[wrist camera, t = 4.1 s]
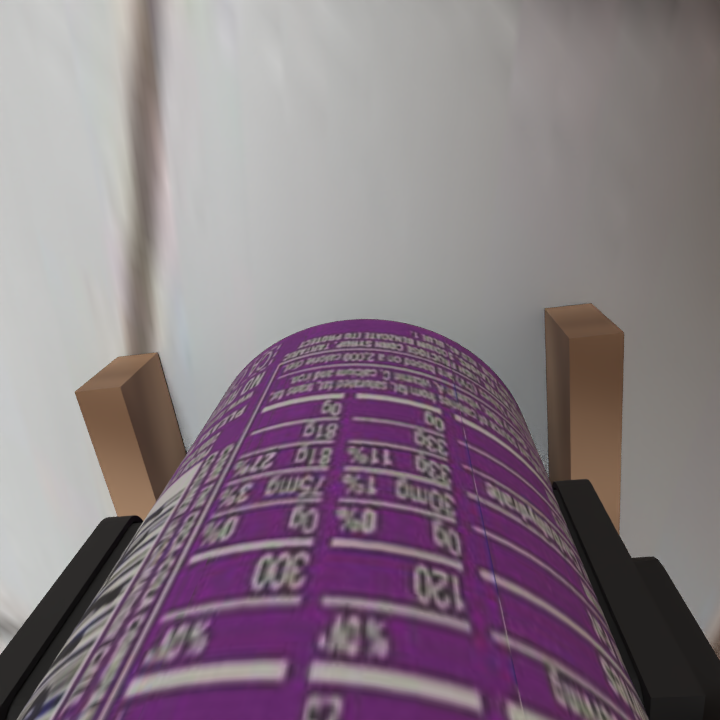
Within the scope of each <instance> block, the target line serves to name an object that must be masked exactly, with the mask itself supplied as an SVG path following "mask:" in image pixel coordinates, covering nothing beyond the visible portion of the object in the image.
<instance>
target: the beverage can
mask: <svg viewBox="0 0 720 720" xmlns="http://www.w3.org/2000/svg"><path fill="white" fill-rule="evenodd" d="M17 720H649V718H648V716H647V713H646V711H645V709H644V706H643V704H642V702H641V700H640V698H639V696H638V694H637V692H636V690H635V688H634V685H633V683H632V681H631V679H630V677H629V674H628V672H627V670H626V667H625V665H624V662H623V660H622V658H621V655H620V653H619V650H618V648H617V645H616V643H615V641H614V638H613V636H612V633H611V631H610V629H609V626H608V624H607V621H606V619H605V616H604V614H603V612H602V609H601V607H600V604H599V602H598V599H597V597H596V595H595V592H594V590H593V587H592V585H591V582H590V580H589V578H588V575H587V573H586V570H585V568H584V566H583V563H582V561H581V558H580V556H579V553H578V551H577V549H576V546H575V544H574V541H573V539H572V536H571V534H570V532H569V529H568V527H567V524H566V522H565V520H564V517H563V515H562V512H561V510H560V507H559V505H558V503H557V500H556V498H555V495H554V493H553V488H552V485H551V482H550V480H549V478H548V475H547V473H546V470H545V468H544V466H543V463H542V461H541V459H540V456H539V454H538V451H537V449H536V447H535V444H534V442H533V439H532V437H531V435H530V432H529V430H528V427H527V425H526V423H525V420H524V418H523V416H522V413H521V411H520V409H519V407H518V405H517V403H516V401H515V399H514V398H513V396H512V394H511V393H510V391H509V390H508V388H507V387H506V386H505V384H504V383H503V382H502V381H501V379H500V378H499V377H498V376H497V375H496V374H495V373H494V372H493V371H492V370H491V368H490V367H489V366H487V365H486V364H485V363H484V362H483V361H482V360H481V359H479V358H478V357H477V356H475V355H474V354H473V353H471V352H470V351H469V350H467V349H466V348H464V347H462V346H461V345H459V344H458V343H456V342H454V341H452V340H450V339H448V338H446V337H444V336H442V335H440V334H437V333H435V332H433V331H430V330H427V329H424V328H421V327H418V326H414V325H410V324H406V323H401V322H395V321H388V320H378V319H354V320H343V321H335V322H330V323H325V324H321V325H318V326H314V327H310V328H307V329H305V330H302V331H299V332H297V333H295V334H292V335H290V336H288V337H286V338H284V339H282V340H280V341H279V342H277V343H275V344H273V345H272V346H270V347H269V348H268V349H266V350H265V351H263V352H262V353H261V354H259V355H258V356H257V357H256V358H254V359H253V360H252V361H251V362H250V363H249V364H248V365H247V366H246V367H245V368H244V369H243V370H242V371H241V373H240V374H239V375H238V376H237V377H236V379H235V380H234V381H233V383H232V384H231V386H230V387H229V389H228V390H227V392H226V393H225V395H224V396H223V398H222V399H221V401H220V403H219V404H218V406H217V407H216V409H215V410H214V412H213V414H212V415H211V417H210V418H209V420H208V421H207V423H206V424H205V426H204V428H203V429H202V431H201V432H200V434H199V435H198V437H197V439H196V440H195V442H194V443H193V445H192V446H191V448H190V449H189V451H188V453H187V454H186V456H185V457H184V459H183V460H182V462H181V464H180V465H179V467H178V468H177V470H176V471H175V473H174V474H173V476H172V478H171V479H170V481H169V482H168V484H167V485H166V487H165V489H164V490H163V492H162V493H161V495H160V496H159V498H158V499H157V501H156V503H155V504H154V506H153V507H152V509H151V510H150V512H149V514H148V515H147V517H146V518H145V520H144V521H143V523H142V524H141V526H140V528H139V529H138V531H137V532H136V534H135V535H134V537H133V538H132V540H131V542H130V543H129V545H128V546H127V548H126V549H125V551H124V553H123V554H122V556H121V557H120V559H119V560H118V562H117V563H116V565H115V567H114V568H113V570H112V571H111V573H110V574H109V576H108V578H107V579H106V581H105V582H104V584H103V585H102V587H101V588H100V590H99V592H98V593H97V595H96V596H95V598H94V599H93V601H92V603H91V604H90V606H89V607H88V609H87V610H86V612H85V613H84V615H83V617H82V618H81V620H80V621H79V623H78V624H77V626H76V628H75V629H74V631H73V632H72V634H71V635H70V637H69V638H68V640H67V642H66V643H65V645H64V646H63V648H62V649H61V651H60V652H59V654H58V656H57V657H56V659H55V660H54V662H53V663H52V665H51V667H50V668H49V670H48V671H47V673H46V674H45V676H44V677H43V679H42V681H41V682H40V684H39V685H38V687H37V688H36V690H35V692H34V693H33V695H32V696H31V698H30V699H29V701H28V702H27V704H26V706H25V707H24V709H23V710H22V712H21V713H20V715H19V717H18V718H17Z"/></svg>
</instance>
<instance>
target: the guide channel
mask: <svg viewBox="0 0 720 720" xmlns="http://www.w3.org/2000/svg"><path fill="white" fill-rule="evenodd" d="M545 339H546V377H547V414H548V452H549V480H550V482H551V485H552V484H553V482H554V481H564V480H577V479H588V480H589V481H590V482H591V484H592V486H593V487H594V489H595V491H596V493H597V495H598V497H599V499H600V500H601V502H602V504H603V506H604V508H605V510H606V512H607V514H608V515H609V517H610V519H611V521H612V523H613V525H614V527H615V528H616V530H617V532H618V534H619V523H620V482H621V442H622V401H623V360H624V332H623V331H622V330H621V329H619V328H618V327H617V326H616V325H615V324H614V323H613V322H612V321H611V320H609V319H608V318H607V317H606V316H605V315H604V314H603V313H602V312H601V311H599V310H598V309H597V308H596V307H595V306H594V305H593V304H592V303H589V304H580V305H571V306H563V307H554V308H545ZM75 394H76V397H77V400H78V403H79V406H80V409H81V412H82V415H83V418H84V420H85V423H86V426H87V429H88V432H89V435H90V438H91V441H92V444H93V446H94V449H95V452H96V455H97V458H98V461H99V464H100V467H101V470H102V472H103V475H104V478H105V481H106V484H107V487H108V490H109V493H110V496H111V499H112V501H113V504H114V507H115V510H116V513H117V516H118V517H120V516H132V515H137V516H139V517H140V518H141V519H142V520H143V521H144V520H145V518H146V517H147V515H148V514H149V512H150V510H151V509H152V507H153V506H154V504H155V503H156V501H157V499H158V498H159V496H160V495H161V493H162V492H163V490H164V489H165V487H166V485H167V484H168V482H169V481H170V479H171V478H172V476H173V474H174V473H175V471H176V470H177V468H178V467H179V465H180V464H181V462H182V460H183V459H184V457H185V456H186V452H185V448H184V445H183V441H182V438H181V434H180V431H179V427H178V424H177V420H176V416H175V413H174V409H173V406H172V402H171V399H170V395H169V392H168V388H167V385H166V381H165V377H164V374H163V370H162V367H161V363H160V360H159V356H158V353H149V354H140V355H131V356H123V357H117V358H116V359H115V360H113V361H112V362H111V363H110V364H109V365H107V366H106V367H105V368H104V369H102V370H101V371H100V372H99V373H97V374H96V375H95V376H94V377H92V378H91V379H90V380H89V381H88V382H86V383H85V384H84V385H83V386H81V387H80V388H79V389H78V390H76V391H75Z"/></svg>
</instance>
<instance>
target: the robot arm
mask: <svg viewBox="0 0 720 720" xmlns="http://www.w3.org/2000/svg"><path fill="white" fill-rule="evenodd" d="M552 488H553V493H554V495H555V498H556V500H557V503H558V505H559V507H560V510H561V512H562V515H563V517H564V520H565V522H566V524H567V527H568V529H569V532H570V534H571V536H572V539H573V541H574V544H575V546H576V549H577V551H578V553H579V556H580V558H581V561H582V563H583V566H584V568H585V570H586V573H587V575H588V578H589V580H590V582H591V585H592V587H593V590H594V592H595V595H596V597H597V599H598V602H599V604H600V607H601V609H602V612H603V614H604V616H605V619H606V621H607V624H608V626H609V629H610V631H611V633H612V636H613V638H614V641H615V643H616V645H617V648H618V650H619V653H620V655H621V658H622V660H623V662H624V665H625V667H626V670H627V672H628V674H629V677H630V679H631V681H632V683H633V685H634V688H635V690H636V692H637V694H638V696H639V698H640V700H641V702H642V704H643V706H644V709H645V711H646V713H647V716H648V718H649V720H720V660H719V659H718V657H717V655H716V654H715V652H714V650H713V649H712V647H711V645H710V644H709V642H708V640H707V639H706V637H705V635H704V634H703V632H702V630H701V629H700V627H699V625H698V624H697V622H696V620H695V619H694V617H693V615H692V614H691V612H690V610H689V609H688V607H687V605H686V604H685V602H684V600H683V599H682V597H681V595H680V594H679V592H678V590H677V589H676V587H675V585H674V584H673V582H672V580H671V579H670V577H669V575H668V574H667V572H666V570H665V569H664V567H663V566H662V564H661V563H660V562H659V560H658V559H656V558H655V557H640V558H631V556H630V554H629V553H628V551H627V549H626V547H625V545H624V543H623V541H622V540H621V538H620V536H619V534H618V532H617V530H616V528H615V527H614V525H613V523H612V521H611V519H610V517H609V515H608V514H607V512H606V510H605V508H604V506H603V504H602V502H601V500H600V499H599V497H598V495H597V493H596V491H595V489H594V487H593V486H592V484H591V482H590V481H589V480H588V479H577V480H564V481H554V482H553V484H552ZM142 523H143V520H142V519H141V518H140V517H139V516H137V515H132V516H120V517H108V518H105V519H103V520H102V521H101V522H100V523H99V525H98V526H97V527H96V529H95V530H94V531H93V533H92V534H91V535H90V537H89V538H88V539H87V541H86V542H85V543H84V545H83V546H82V547H81V549H80V550H79V551H78V553H77V554H76V555H75V557H74V558H73V559H72V561H71V562H70V563H69V565H68V566H67V567H66V569H65V570H64V571H63V573H62V574H61V575H60V577H59V578H58V579H57V580H56V582H55V583H54V584H53V586H52V587H51V588H50V590H49V591H48V592H47V594H46V595H45V596H44V598H43V599H42V600H41V602H40V603H39V604H38V606H37V607H36V608H35V610H34V611H33V612H32V614H31V615H30V616H29V618H28V619H27V620H26V622H25V623H24V624H23V626H22V627H21V628H20V630H19V631H18V632H17V634H16V635H15V636H14V638H13V639H12V640H11V641H10V643H9V644H8V645H7V647H6V648H5V649H4V651H3V652H2V653H1V655H0V720H17V718H18V717H19V715H20V713H21V712H22V710H23V709H24V707H25V706H26V704H27V702H28V701H29V699H30V698H31V696H32V695H33V693H34V692H35V690H36V688H37V687H38V685H39V684H40V682H41V681H42V679H43V677H44V676H45V674H46V673H47V671H48V670H49V668H50V667H51V665H52V663H53V662H54V660H55V659H56V657H57V656H58V654H59V652H60V651H61V649H62V648H63V646H64V645H65V643H66V642H67V640H68V638H69V637H70V635H71V634H72V632H73V631H74V629H75V628H76V626H77V624H78V623H79V621H80V620H81V618H82V617H83V615H84V613H85V612H86V610H87V609H88V607H89V606H90V604H91V603H92V601H93V599H94V598H95V596H96V595H97V593H98V592H99V590H100V588H101V587H102V585H103V584H104V582H105V581H106V579H107V578H108V576H109V574H110V573H111V571H112V570H113V568H114V567H115V565H116V563H117V562H118V560H119V559H120V557H121V556H122V554H123V553H124V551H125V549H126V548H127V546H128V545H129V543H130V542H131V540H132V538H133V537H134V535H135V534H136V532H137V531H138V529H139V528H140V526H141V524H142Z"/></svg>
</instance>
